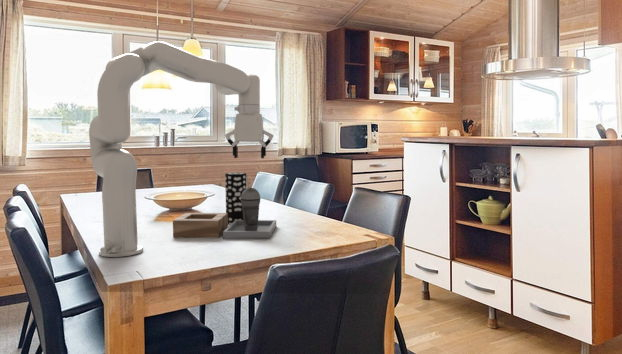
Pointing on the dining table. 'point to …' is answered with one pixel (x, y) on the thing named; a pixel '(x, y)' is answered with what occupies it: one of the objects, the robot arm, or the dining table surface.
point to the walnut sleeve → (200, 225)
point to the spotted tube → (234, 195)
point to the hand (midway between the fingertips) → (249, 158)
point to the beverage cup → (250, 208)
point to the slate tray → (238, 231)
